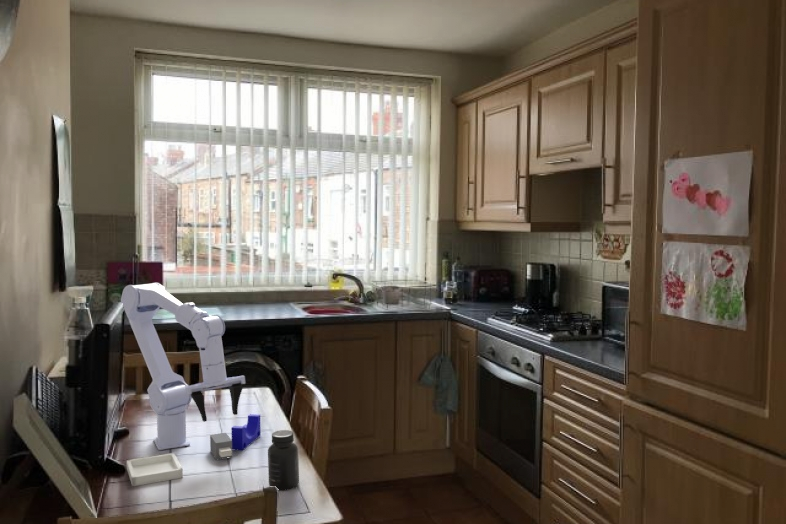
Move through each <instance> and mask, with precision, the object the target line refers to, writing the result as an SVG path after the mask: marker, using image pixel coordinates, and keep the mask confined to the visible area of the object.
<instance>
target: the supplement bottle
mask: <svg viewBox="0 0 786 524" xmlns="http://www.w3.org/2000/svg"><path fill="white" fill-rule="evenodd" d="M294 441H295V437H294V431H292V430H287V429H282V430H281V429H279V430H276V431H273V432H272V433H271V443H272V444H270V446H269V447H268V449H267V469H268V486H269V487H270V486H276V487H277V488H278V489H279V491H280V492H282V491H283V492H284V491H290V490H293V489H294V488H296V487H298V486H299V484H300V462H299V460H300V459H299V457H300V456H299V455H300V454H299V447H298V445H297V444H296V443H295V442H294ZM279 491H278V492H279Z"/></svg>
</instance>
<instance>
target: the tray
mask: <svg viewBox="0 0 786 524" xmlns="http://www.w3.org/2000/svg"><path fill="white" fill-rule="evenodd" d="M126 471H127V474H128V476H129V477H128V478H129V480H130V481H129V482H130V483H131V487H137V486H142V485H148V484H154V483H159V482H165V481H170V480H177V479H183V478H184V477H183V476H184V474H183V472H184V471H183V467H182V465H181V464H180V462H179V459H178V458H177V456H176V453H175V452H170V453H164V454H160V455H159V454H158V455H153V456H151V455H150V456H145V457H144V456H143V457H138V458H133V459H127V460H126Z"/></svg>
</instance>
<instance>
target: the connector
mask: <svg viewBox="0 0 786 524" xmlns="http://www.w3.org/2000/svg"><path fill="white" fill-rule="evenodd" d="M209 439H210V440H209V441H210V444H209V445H210V446H209V447H210V449H209V450H210V453H211V452H212V453H211V454H212V456H213V457H214V459H215V461H218V460H217V459H219V460H223V459H222V458H226V459H228V458H227V457H232V458H233V450H232V438H230V437H229V434H227V432H223V433H222V432H221V433H214V434H209Z"/></svg>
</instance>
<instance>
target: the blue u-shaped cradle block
mask: <svg viewBox="0 0 786 524" xmlns="http://www.w3.org/2000/svg"><path fill="white" fill-rule="evenodd" d="M230 430H231V440H232V449H235V450H234V451H236V450H237V449H238V450H237V451H243V449H244V448H245V447H246V448H247V447H248V446H250V445H251V444H252V443H254V441H256V440H257V439H259V437H261V433H262V432H261V414H254V413H253V414H252V413H250V414H248V415H247V423H246V424H244V425H240V426H239V425H233V426H232V427H231V429H230ZM256 438H257V439H256ZM255 439H256V440H255ZM249 444H250V445H249ZM246 448H245V449H246ZM245 449H244V450H245Z"/></svg>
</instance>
